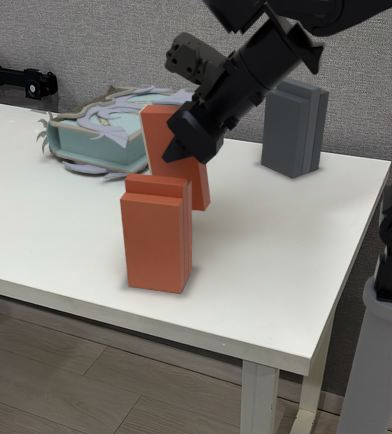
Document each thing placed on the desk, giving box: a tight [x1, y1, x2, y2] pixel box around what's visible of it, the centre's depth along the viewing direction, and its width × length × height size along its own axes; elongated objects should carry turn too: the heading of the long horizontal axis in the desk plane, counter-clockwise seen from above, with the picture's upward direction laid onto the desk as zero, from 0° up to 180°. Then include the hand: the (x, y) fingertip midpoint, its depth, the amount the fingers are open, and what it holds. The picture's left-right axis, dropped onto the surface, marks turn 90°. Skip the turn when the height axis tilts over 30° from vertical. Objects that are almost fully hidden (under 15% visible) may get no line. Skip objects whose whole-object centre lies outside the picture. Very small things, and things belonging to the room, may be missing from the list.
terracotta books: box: [119, 173, 193, 295], centre depth 69 cm, size 7×6×14 cm
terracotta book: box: [138, 105, 212, 212], centre depth 72 cm, size 7×2×13 cm, turn 68°
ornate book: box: [35, 84, 195, 179], centre depth 103 cm, size 23×10×30 cm
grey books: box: [260, 76, 330, 179], centre depth 95 cm, size 8×6×14 cm
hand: (167, 155), depth 72 cm, fingers closed on terracotta book, 3 cm apart
